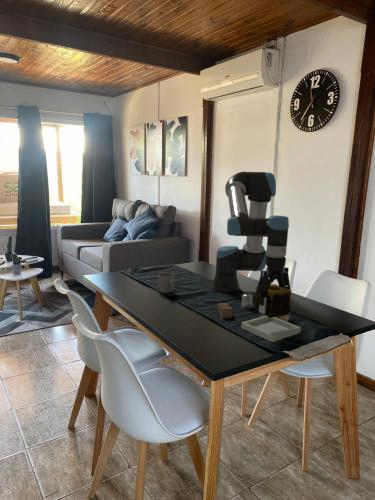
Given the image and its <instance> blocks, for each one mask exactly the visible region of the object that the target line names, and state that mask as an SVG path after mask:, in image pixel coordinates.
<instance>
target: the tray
mask: <svg viewBox="0 0 375 500" xmlns="http://www.w3.org/2000/svg"><path fill="white" fill-rule="evenodd" d="M240 326H241V327H240V328H241V329H242V330H244V331H247V332H249V333H251V334H253V335H255V336H257V337H259V338H261V339H263V338H264V339H263V340H265V339H266V340H265V341H267V342H270V341H271V342H270V343H272V342H274V343H276V342H279V341H281V339H282V340H284V339H283V338H285V339H287V338H286V337H288V338H290V337H292V335H293V336H297V335H298V333H299V334H300V333H301V326H298V325H296V324H293V323H290V322H289V321H287V322H286V321H283V320H281V319H278V318H276V317H273V318H269V317H268V316H266V315H262V316H259V317H257V318H252V319H250V320H246V321H241V325H240ZM289 336H290V337H289ZM278 340H279V341H278ZM275 341H276V342H275Z"/></svg>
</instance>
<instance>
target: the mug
mask: <svg viewBox="0 0 375 500" xmlns="http://www.w3.org/2000/svg"><path fill="white" fill-rule="evenodd" d="M157 285H158V288H159V291H160V293H161V292H162V293H161V294H164V293H168V292H172V291H173V290H174V287H175V273H173V272H166V271H165V272H164V271H163V272H159V273H157ZM168 294H169V293H168Z"/></svg>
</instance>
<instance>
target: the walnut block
mask: <svg viewBox="0 0 375 500" xmlns="http://www.w3.org/2000/svg"><path fill="white" fill-rule="evenodd" d="M217 312H218V313H219V314H218V313H217V314H218V315H219V316H220V318H221V317H222V318H221V319H232V317H233V308H232V306H231V305H229V303H228V302H223V303H222V302H220V303H217Z"/></svg>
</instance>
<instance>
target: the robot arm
mask: <svg viewBox="0 0 375 500" xmlns="http://www.w3.org/2000/svg"><path fill="white" fill-rule="evenodd" d="M276 182H277V181H276V177H275V175H274V174H273V173H272V172H266V171H239V172H237V173H235V174H233V175H232V176H230V178H229V179H228V180H227V182H226V184H225V186H224V187H225V188H224V189H225V190H224V191H225V194H226V197H227V198H228V206H229V213H230V217H228V218H227V221H226V233H227V235H229V236H233V237H246V238H245V239H246V241H245V243H244V244H243V245H242V248H239V246H236V245H227V246H221V247H219V248H217V250H216V255H215V258H216V259H215V274H214V277H213V281H212V283H211V289H212V288H213V289H212V290H214V291H216V292H220V291H221V293H235V292H238V291H239V290H240V283H239V279H238V271H242V272H245V271H247V272H260V277H259V280H258V283H257V286H256V287H257V290H255V293H254V294H255V297H256V296H259V312H258V313H260V314H261V313H263V314H262V315H264V314H266V300H267V298H266V297H265V296H266V294H267V291H268V289H269V287H270V285H272V283H274V281H275V280H276V281H277V285H278V286H281V287H284V288H287V289H289V290H291V283H290V276H289V267H286V263H287V262H286V261H287V260H286V259H287V257H286V256H287V246H288V237H289V235H288V234H289V227H290V224H289V223H290V221H289V217H288V216H287V215H276V214H275V215H270V216H269V217H266V216H267V209H268V204H269V203H270V202H271V201H272V198H273V197H275V196H276V193H277V183H276ZM246 197H247V200H248V201H249V202H250V204H249V210H248V206H247V201H246ZM264 237H265V238H267V240H266V248H265V246H264V245H263V242H264V241H263V240H264ZM265 267H267V268H266V270H265Z"/></svg>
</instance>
